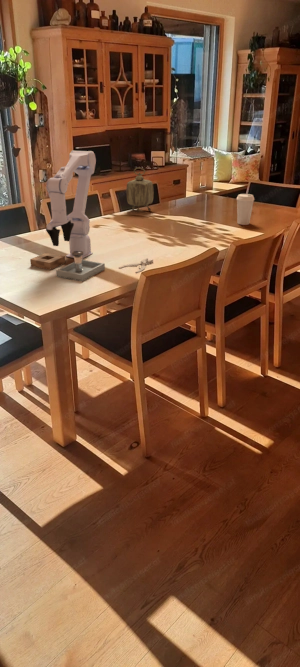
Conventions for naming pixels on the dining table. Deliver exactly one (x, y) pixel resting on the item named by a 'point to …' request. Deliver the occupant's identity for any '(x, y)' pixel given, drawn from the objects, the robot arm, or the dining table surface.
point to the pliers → (143, 263)
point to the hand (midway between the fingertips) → (61, 243)
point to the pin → (78, 261)
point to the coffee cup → (244, 208)
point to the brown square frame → (47, 261)
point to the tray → (88, 271)
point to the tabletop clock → (139, 191)
